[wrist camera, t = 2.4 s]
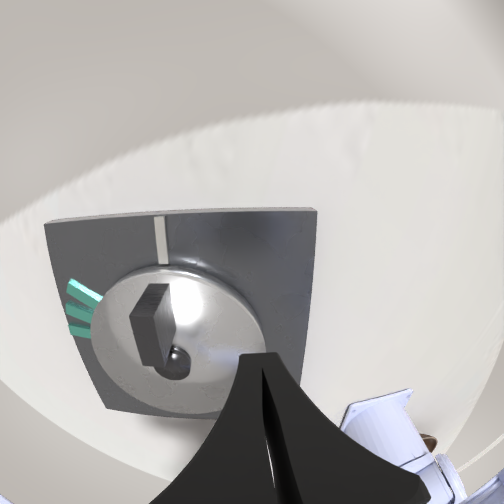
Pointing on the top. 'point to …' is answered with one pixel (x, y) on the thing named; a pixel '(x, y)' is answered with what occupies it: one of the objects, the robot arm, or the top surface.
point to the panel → (196, 257)
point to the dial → (174, 337)
